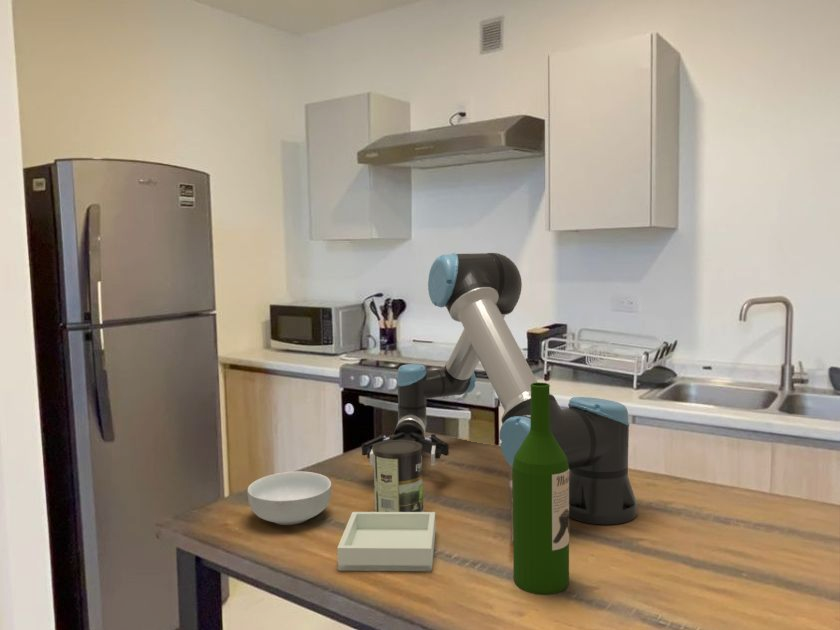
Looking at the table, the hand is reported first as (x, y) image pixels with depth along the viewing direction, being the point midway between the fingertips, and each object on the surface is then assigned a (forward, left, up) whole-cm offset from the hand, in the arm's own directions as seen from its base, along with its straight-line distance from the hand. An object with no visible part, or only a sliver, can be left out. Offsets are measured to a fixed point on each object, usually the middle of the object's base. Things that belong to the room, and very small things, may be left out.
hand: (402, 460), depth 150 cm
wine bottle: (-26, +39, -8) cm, 47 cm away
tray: (0, +28, -8) cm, 29 cm away
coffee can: (0, +10, -8) cm, 13 cm away
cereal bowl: (+22, +13, -8) cm, 27 cm away
